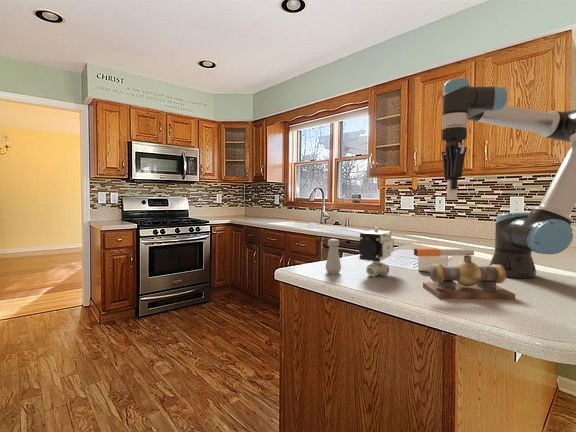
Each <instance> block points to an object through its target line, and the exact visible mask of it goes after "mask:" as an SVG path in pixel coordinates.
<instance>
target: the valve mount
mask: <svg viewBox="0 0 576 432" xmlns="http://www.w3.org/2000/svg"><path fill="white" fill-rule="evenodd" d="M429 276H430V280H431V281H432V282H422V288H423V289H425V290H426V291H428V293H430V294H432V295H433V296H434V297H436V298H437V299H455V300H457V299H461V300H462V299H465V300H472V299H473V300H516V293H513V292H511V291H509V290H507V289H505V288H503V287H500V286H498V285H497V284H504V283H505V281H506V279H507V277H506V271H505V269H504V267H503V266H502V265H491V266H489V265H487V266H486V265H485V266H483V265H482V266H481V265H478V264H476V263H475V262H473V261H472V255H470V256H463V261H460V262H458V263H457V264H456V265H448V266H442V265H441V264H432V266H431V267H430V272H429Z"/></svg>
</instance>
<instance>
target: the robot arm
mask: <svg viewBox="0 0 576 432" xmlns="http://www.w3.org/2000/svg"><path fill="white" fill-rule="evenodd" d="M507 101H508V90H507V89H506V88H505V87H503V86H494V85H493V86H472V85H470V82H469V79H468V78H464V77H459V78H458V77H457V78H453V79H449V80H448V81H446V82H445V83H444V85H443V91H442V115H441V128H442V130H441V141H442V142H445V143H446V144H445V148H444V151H442V152H441V156H442V166H443V177H444V179H446V200H452V201H453V200H455V201H456V200H458V181H459V180H460V178H462V175H463V169H464V163H465V157H466V156H465V155H466V152H467V148H468V147H467V146H463V141H465V140H467V137H468V128H467V126H468V121H473V122H477V123H483V124H489V125H494V126H499V127H504V128H510V129H514V130H519V131H524V132H525V131H526V132H531V133H535V134H538V135H539V136H540V137H542V138H546V139H550V140H556V141H563V142H570V143H571V146H570V147H569V149H568V151H567V153H566V155H565V156H564V159H563V160H562V163H561V164H560V166H559V168H558V169H557V172H556V173H555V175H554V177H553V179H552V181H551V183H550V185H549V187H548V189H547V191H546V193H545V194H544V195H543V196H544V197H543V198H542V200H541V202H540V203H539V205H538V206H534V207H532V208H531V210H530V212H509V213H500V214H498V215H497V216H496V219H495V223H494V225H495V233H494V234H495V237H494V239H495V240H494V253H493V256H492V258H491V260H490V262H489V265H488V266H491V265H502V266H503V267H504V269H505V271H506V278H513V279H533V278H536V277H537V269H536V266H535V263H534V259H533V257H532V252H534V253H536V254H540V255H556V254H559V253H562V252H564V251H565V250H566V249H568V248H569V246H570V245H571V244H572V242H573V239H574V233H573V232H574V230H573V228H572V226H571V225H572V223H573V220H572V218H571V216H570V215H571V213H572V211H573V209H574V207H575V205H576V109H573V110H567V111H557V110H549V111H541V110H536V109H530V108H526V107H520V106H516V105H512V104H511V105H509V104H507Z"/></svg>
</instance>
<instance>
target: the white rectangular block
mask: <svg viewBox="0 0 576 432" xmlns="http://www.w3.org/2000/svg"><path fill="white" fill-rule="evenodd" d="M417 257H418V260H417V268H418V272H424V273H430V267H431V266H432V264H441V265H442V266H449V265H448V264H449V256H417Z"/></svg>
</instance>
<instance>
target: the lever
mask: <svg viewBox="0 0 576 432" xmlns="http://www.w3.org/2000/svg"><path fill="white" fill-rule="evenodd" d="M474 255H475V250H473V249H472V250H471V249H465V248H460V249H459V248H456V249H455V248H449V249H448V248H437V247H435V248H434V247H433V248H431V247H430V248H429V247H427V248H426V247H425V248H423V247H422V248H420V247H418V248H415V247H414V248H413V256H415V257H418V256H448V257H449V256H452V257H454V256H459V257H460V256H463V257H464V256H474Z"/></svg>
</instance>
